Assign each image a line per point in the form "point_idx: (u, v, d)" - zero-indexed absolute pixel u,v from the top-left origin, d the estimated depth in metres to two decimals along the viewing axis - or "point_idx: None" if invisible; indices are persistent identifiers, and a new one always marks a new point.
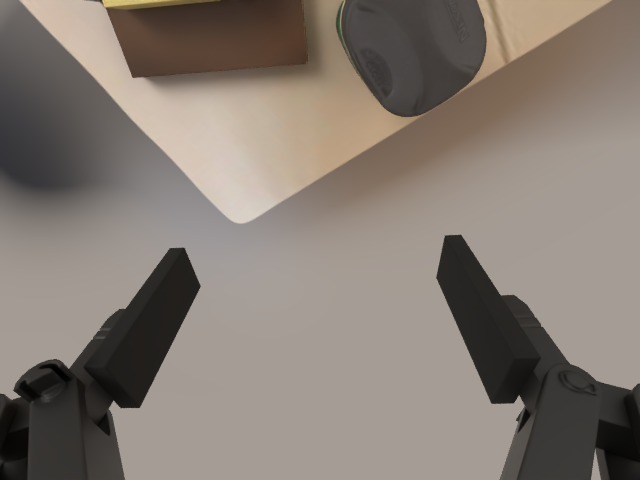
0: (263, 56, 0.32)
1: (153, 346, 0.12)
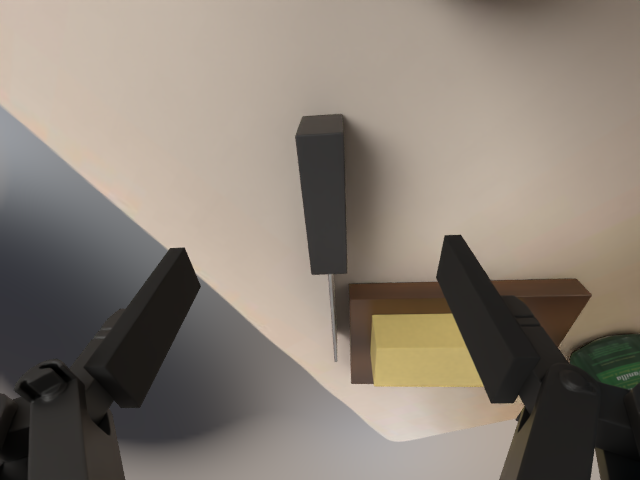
0: None
1: (153, 346, 0.12)
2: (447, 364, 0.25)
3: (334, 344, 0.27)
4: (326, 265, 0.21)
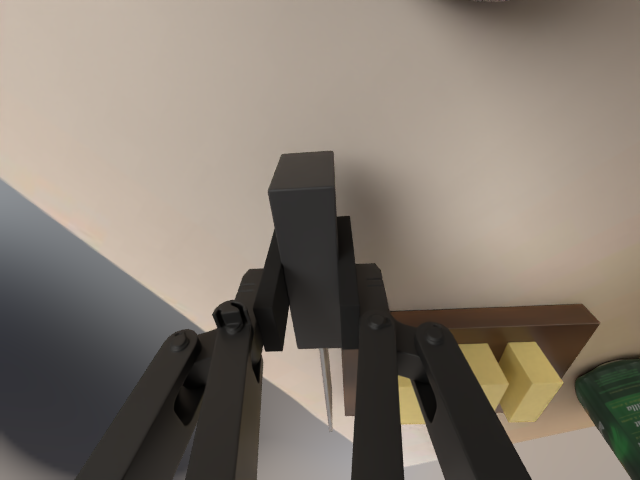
0: None
1: (284, 300, 0.14)
2: None
3: (328, 415, 0.23)
4: (316, 339, 0.16)
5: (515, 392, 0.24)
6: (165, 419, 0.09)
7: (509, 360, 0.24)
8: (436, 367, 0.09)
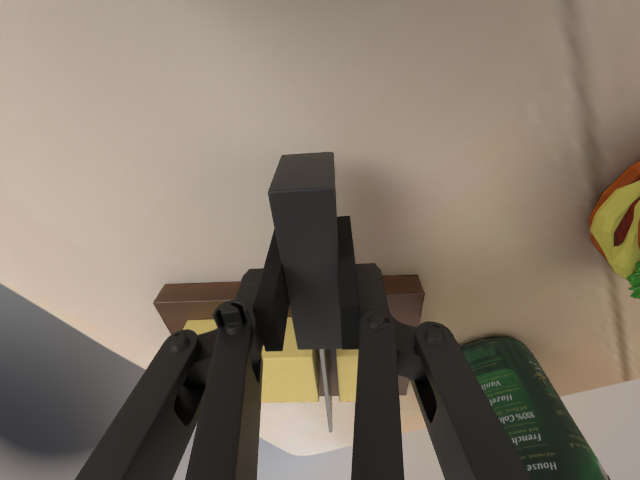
0: None
1: (284, 300, 0.14)
2: None
3: (328, 415, 0.23)
4: (316, 340, 0.16)
5: None
6: (165, 419, 0.09)
7: None
8: (436, 367, 0.09)
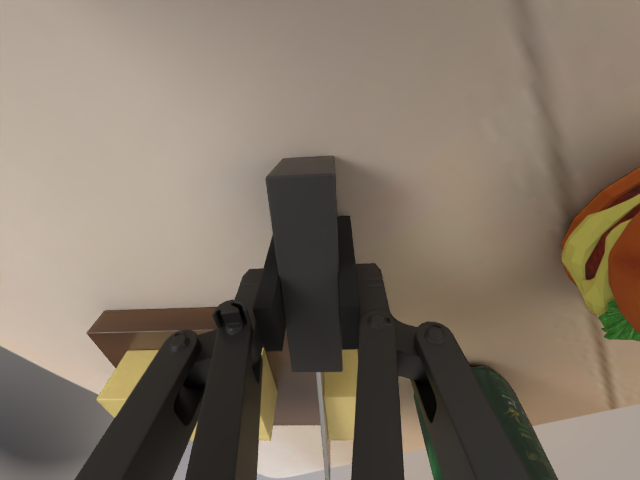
0: None
1: None
2: None
3: (325, 467, 0.19)
4: (312, 360, 0.15)
5: None
6: (165, 419, 0.09)
7: None
8: (436, 367, 0.09)
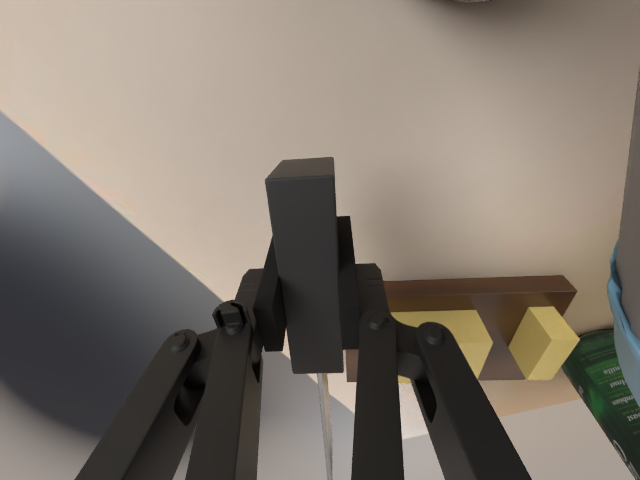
0: (484, 375, 0.33)
1: None
2: None
3: (327, 468, 0.19)
4: (313, 361, 0.15)
5: (534, 351, 0.26)
6: (165, 419, 0.09)
7: (529, 323, 0.27)
8: (436, 367, 0.09)
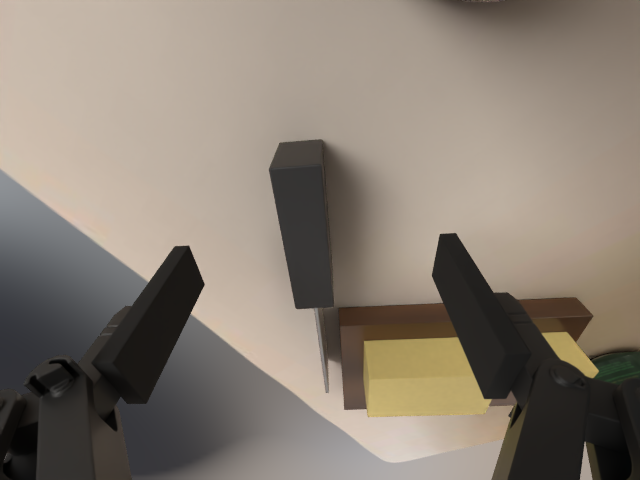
0: None
1: (159, 343, 0.12)
2: (444, 393, 0.24)
3: (324, 376, 0.26)
4: (311, 299, 0.19)
5: None
6: None
7: None
8: None
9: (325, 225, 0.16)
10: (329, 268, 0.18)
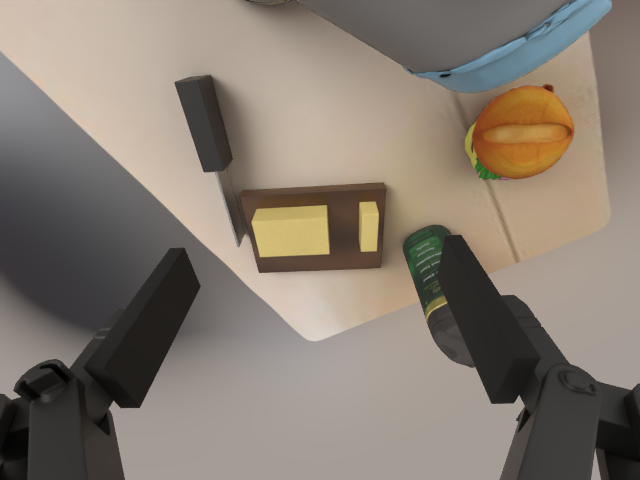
0: (351, 264, 0.47)
1: (153, 346, 0.12)
2: (298, 234, 0.40)
3: (233, 231, 0.42)
4: (210, 165, 0.36)
5: (360, 229, 0.40)
6: None
7: (359, 212, 0.41)
8: None
9: (207, 115, 0.33)
10: (215, 143, 0.34)
